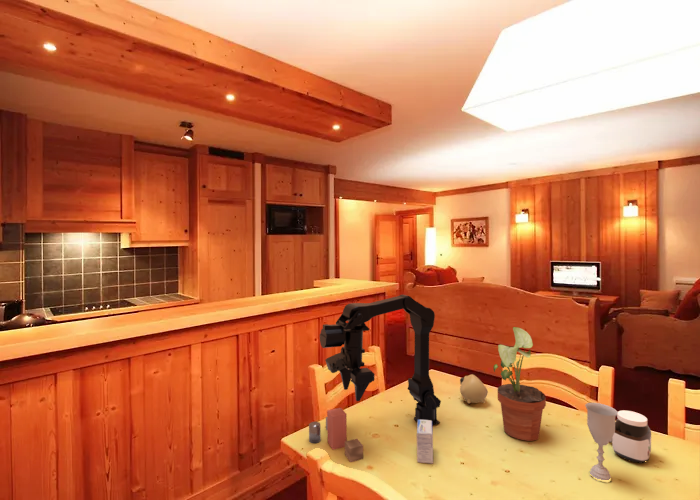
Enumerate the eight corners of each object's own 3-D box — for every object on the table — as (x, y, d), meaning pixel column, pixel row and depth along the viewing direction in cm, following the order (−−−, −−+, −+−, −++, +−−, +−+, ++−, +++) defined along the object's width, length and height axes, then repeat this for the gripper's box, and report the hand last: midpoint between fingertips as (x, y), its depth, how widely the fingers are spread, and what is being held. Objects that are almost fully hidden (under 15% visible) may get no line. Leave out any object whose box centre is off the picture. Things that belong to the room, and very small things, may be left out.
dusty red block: (341, 438, 115) (340, 407, 115) (346, 446, 111) (346, 413, 111) (327, 442, 113) (327, 410, 113) (332, 449, 109) (332, 416, 109)
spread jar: (640, 469, 99) (640, 426, 98) (594, 448, 108) (594, 410, 108) (657, 454, 105) (658, 414, 105) (613, 436, 115) (613, 400, 114)
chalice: (578, 468, 99) (578, 403, 98) (601, 467, 100) (602, 401, 99) (598, 486, 92) (599, 416, 91) (624, 485, 92) (625, 414, 92)
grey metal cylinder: (318, 436, 117) (318, 420, 117) (322, 441, 113) (322, 425, 113) (307, 438, 115) (307, 423, 115) (311, 444, 112) (310, 428, 112)
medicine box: (433, 464, 102) (433, 433, 101) (416, 462, 102) (416, 432, 102) (432, 448, 109) (432, 419, 109) (417, 446, 110) (417, 418, 110)
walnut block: (357, 451, 108) (357, 438, 108) (363, 459, 104) (362, 445, 104) (344, 455, 107) (344, 441, 106) (350, 462, 103) (350, 448, 103)
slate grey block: (337, 426, 123) (337, 414, 123) (341, 432, 119) (341, 420, 119) (325, 429, 121) (325, 417, 121) (330, 434, 117) (330, 422, 117)
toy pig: (481, 395, 146) (481, 368, 145) (491, 409, 134) (491, 380, 133) (456, 394, 146) (456, 368, 146) (463, 408, 134) (463, 380, 134)
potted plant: (489, 419, 126) (489, 318, 125) (537, 423, 123) (538, 320, 122) (498, 444, 111) (498, 330, 110) (553, 450, 108) (554, 332, 106)
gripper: (318, 339, 119) (317, 387, 119) (340, 356, 102) (338, 412, 102) (350, 337, 123) (348, 383, 123) (376, 352, 106) (374, 406, 106)
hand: (351, 395), depth 114 cm, fingers open, 9 cm apart
